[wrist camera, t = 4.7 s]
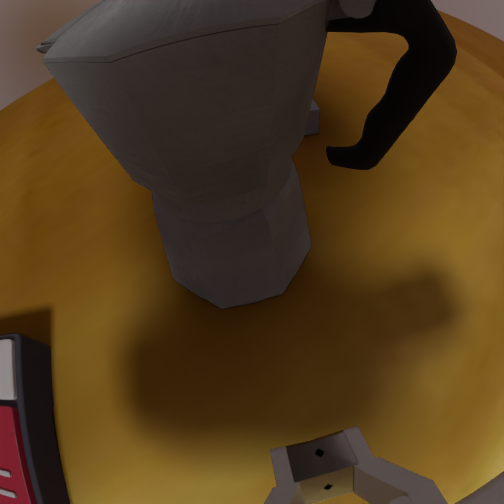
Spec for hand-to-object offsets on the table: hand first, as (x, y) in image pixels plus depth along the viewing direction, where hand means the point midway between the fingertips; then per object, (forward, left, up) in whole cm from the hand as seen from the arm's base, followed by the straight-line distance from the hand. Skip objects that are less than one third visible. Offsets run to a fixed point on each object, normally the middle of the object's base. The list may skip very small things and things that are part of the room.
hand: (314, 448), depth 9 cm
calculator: (-20, 0, -6) cm, 21 cm away
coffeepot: (0, +12, -6) cm, 13 cm away
